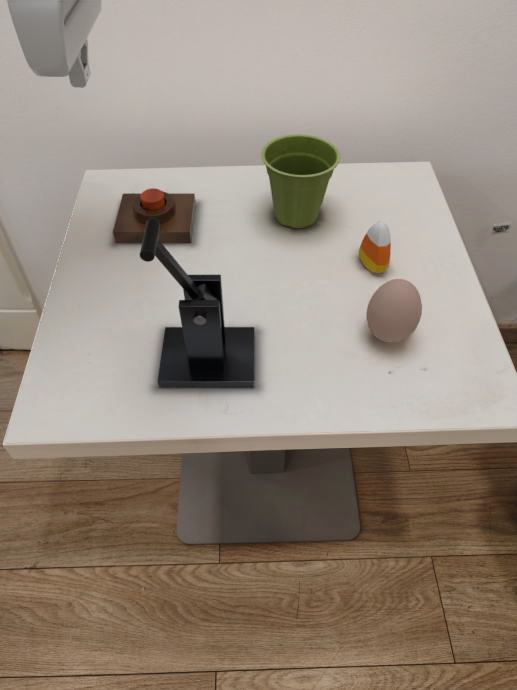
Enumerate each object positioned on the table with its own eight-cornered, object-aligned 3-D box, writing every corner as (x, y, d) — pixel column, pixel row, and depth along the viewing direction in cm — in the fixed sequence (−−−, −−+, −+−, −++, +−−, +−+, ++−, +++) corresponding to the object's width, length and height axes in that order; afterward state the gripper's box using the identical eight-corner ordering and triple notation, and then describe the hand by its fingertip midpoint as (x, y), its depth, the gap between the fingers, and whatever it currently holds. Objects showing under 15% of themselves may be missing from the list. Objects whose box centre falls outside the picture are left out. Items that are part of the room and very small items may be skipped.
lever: (132, 255, 50) (152, 247, 49) (139, 222, 53) (158, 214, 53) (197, 327, 59) (215, 321, 58) (200, 296, 62) (217, 289, 61)
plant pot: (346, 215, 86) (356, 153, 78) (298, 248, 81) (304, 186, 72) (293, 185, 92) (297, 125, 83) (246, 215, 86) (244, 153, 77)
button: (140, 211, 81) (138, 202, 80) (143, 197, 83) (141, 188, 82) (163, 211, 81) (162, 202, 80) (166, 197, 83) (164, 188, 82)
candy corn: (391, 273, 78) (403, 231, 71) (374, 279, 77) (385, 237, 71) (369, 249, 81) (379, 207, 75) (353, 255, 80) (361, 213, 74)
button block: (115, 243, 82) (109, 222, 79) (125, 204, 88) (120, 184, 85) (191, 243, 82) (188, 222, 79) (195, 204, 88) (193, 184, 85)
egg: (421, 347, 69) (441, 296, 61) (375, 360, 67) (390, 310, 60) (397, 311, 73) (413, 259, 65) (353, 322, 72) (364, 271, 64)
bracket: (158, 387, 65) (140, 320, 55) (166, 332, 70) (151, 262, 60) (254, 387, 65) (253, 320, 55) (254, 332, 70) (254, 262, 60)
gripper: (43, -87, 58) (74, 45, 69) (-16, -29, 45) (32, 123, 56) (100, -85, 58) (121, 47, 69) (56, -27, 45) (91, 124, 56)
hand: (81, 82), depth 62 cm, fingers closed
